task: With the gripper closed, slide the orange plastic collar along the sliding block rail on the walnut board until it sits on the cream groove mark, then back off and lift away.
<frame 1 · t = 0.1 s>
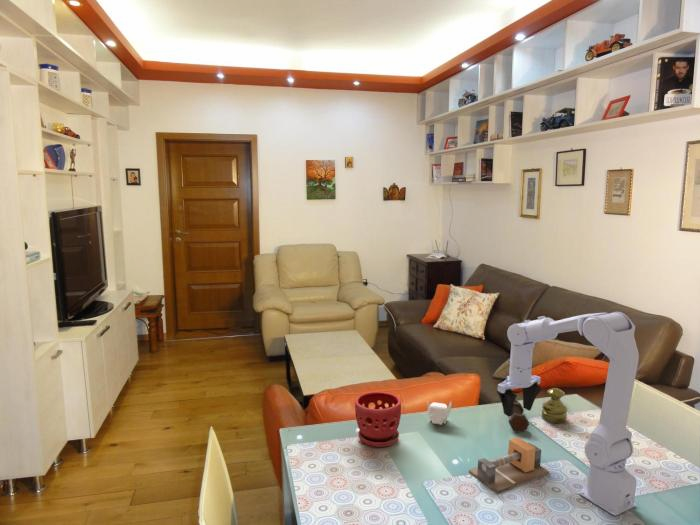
hand: (517, 411, 140), 10 cm above the table, tool pointing down, fingers open, 7 cm apart
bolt: (516, 421, 157), on the table
olive green vase: (553, 419, 158), on the table
sliding block rail: (509, 472, 128), on the table
plant pot: (377, 439, 144), on the table
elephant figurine: (437, 422, 155), on the table
collar: (521, 454, 130), point 4 cm above the table, slide at 0.0 cm
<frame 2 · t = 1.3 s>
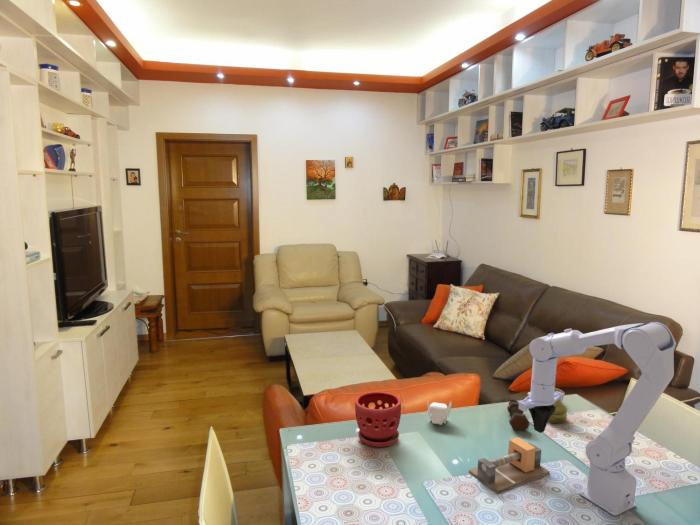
hand: (539, 430, 132), 9 cm above the table, tool pointing down, fingers closed
nothing on the table moved.
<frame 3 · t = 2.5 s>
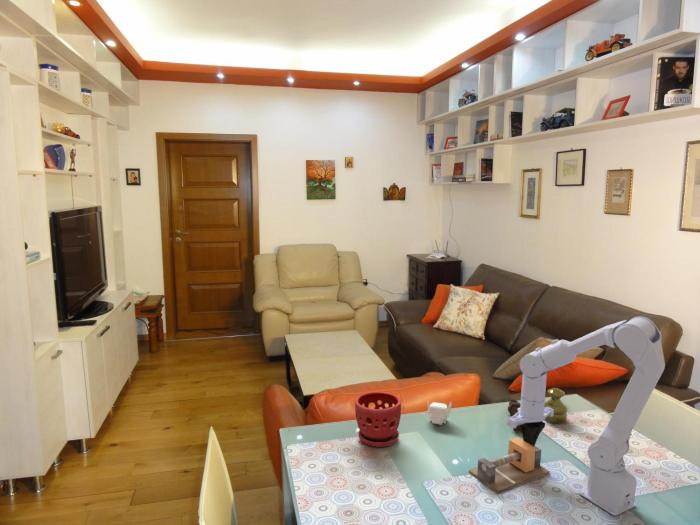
hand: (528, 446, 131), 5 cm above the table, tool pointing down, fingers closed
collar: (521, 454, 130), point 4 cm above the table, slide at 0.0 cm, touching gripper
everything else where it was.
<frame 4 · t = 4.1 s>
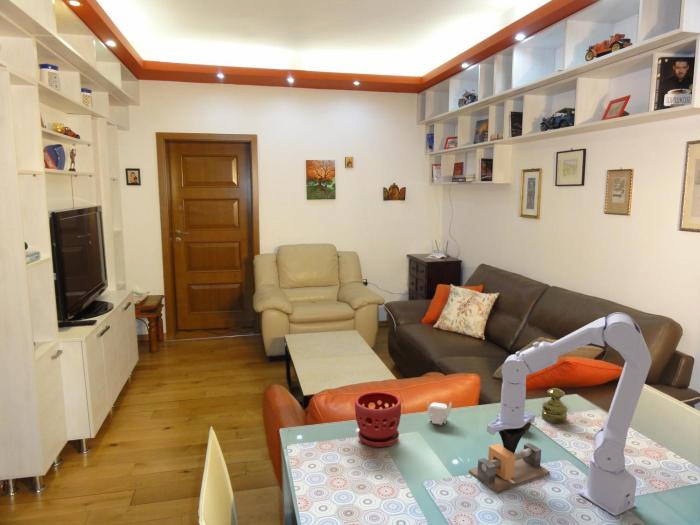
hand: (509, 453, 127), 5 cm above the table, tool pointing down, fingers closed
collar: (501, 461, 126), point 4 cm above the table, slide at 7.1 cm, touching gripper
everything else where it was.
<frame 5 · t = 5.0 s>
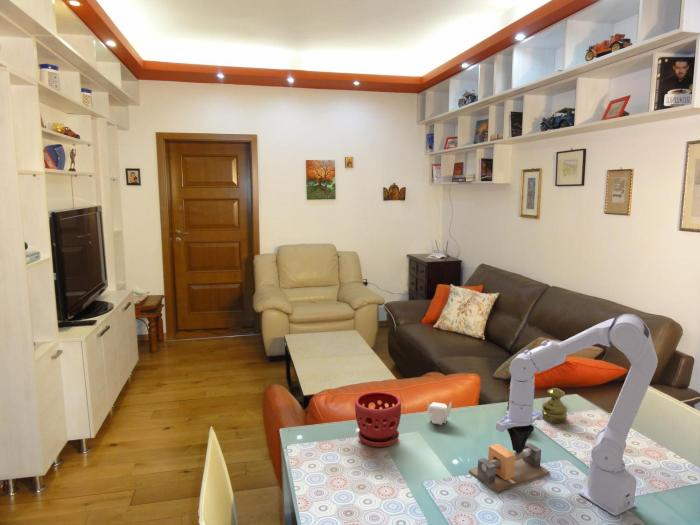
hand: (517, 450, 129), 5 cm above the table, tool pointing down, fingers closed
collar: (501, 461, 126), point 4 cm above the table, slide at 7.1 cm
everything else where it was.
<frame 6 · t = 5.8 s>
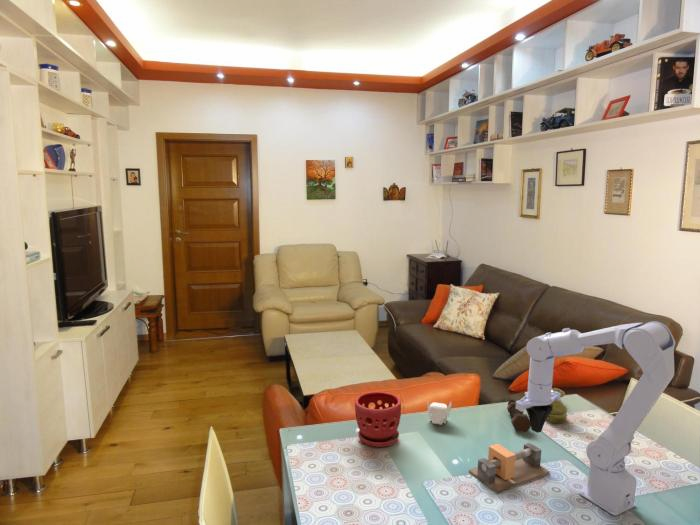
hand: (536, 430, 131), 9 cm above the table, tool pointing down, fingers closed
nothing on the table moved.
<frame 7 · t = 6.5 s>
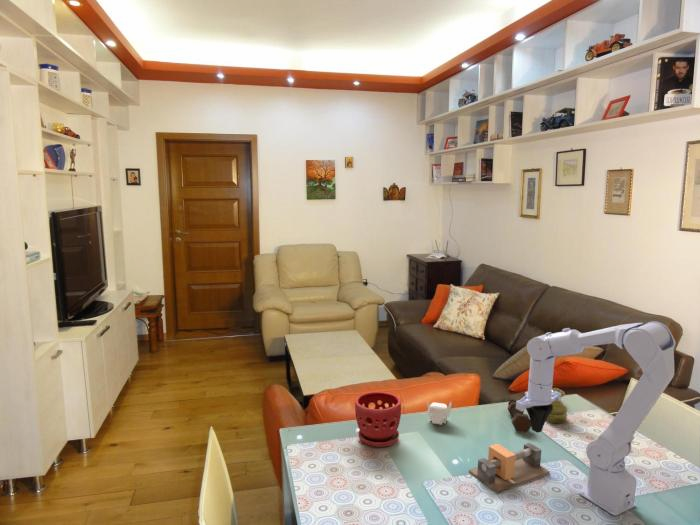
hand: (536, 430, 131), 9 cm above the table, tool pointing down, fingers closed
nothing on the table moved.
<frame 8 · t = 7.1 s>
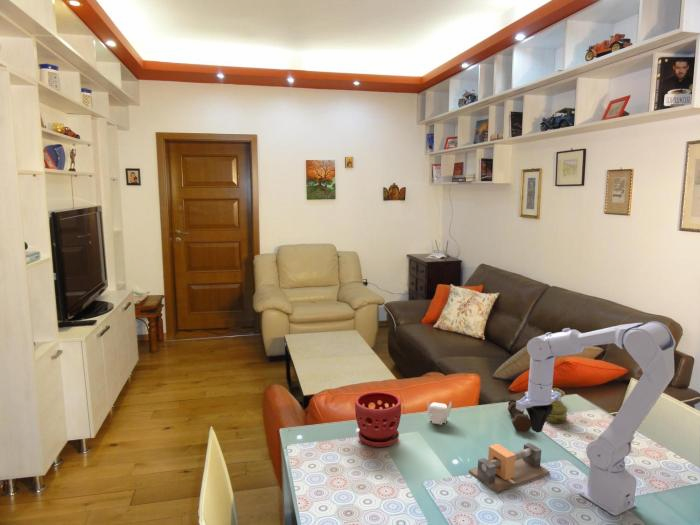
hand: (536, 430, 131), 9 cm above the table, tool pointing down, fingers closed
nothing on the table moved.
at the end: collar slide at 7.1 cm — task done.
